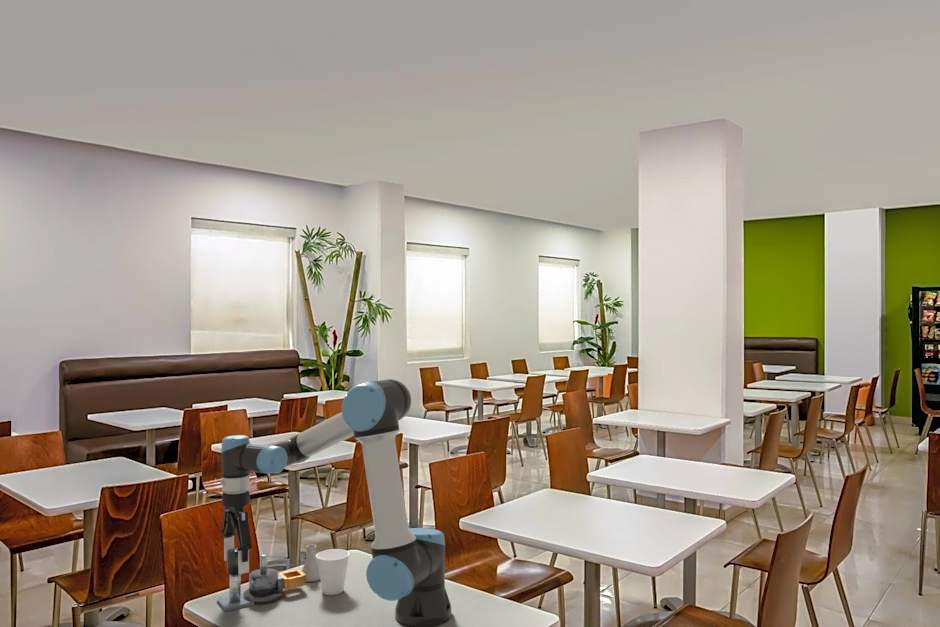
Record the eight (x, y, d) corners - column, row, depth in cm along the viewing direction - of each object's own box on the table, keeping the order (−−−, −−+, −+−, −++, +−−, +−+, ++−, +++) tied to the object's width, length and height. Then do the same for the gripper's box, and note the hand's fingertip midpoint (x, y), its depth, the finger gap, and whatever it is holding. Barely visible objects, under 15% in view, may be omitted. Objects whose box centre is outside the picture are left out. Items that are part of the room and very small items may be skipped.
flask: (294, 581, 216) (294, 548, 216) (306, 573, 223) (306, 541, 223) (315, 583, 214) (315, 550, 214) (327, 575, 221) (327, 543, 221)
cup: (353, 586, 212) (353, 549, 212) (344, 598, 202) (344, 560, 202) (321, 584, 213) (321, 548, 213) (311, 597, 203) (311, 559, 203)
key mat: (254, 604, 198) (254, 601, 198) (225, 611, 194) (225, 608, 194) (245, 595, 205) (245, 592, 205) (217, 601, 200) (217, 599, 200)
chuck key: (235, 596, 202) (236, 547, 203) (246, 599, 200) (247, 549, 200) (223, 601, 198) (223, 551, 199) (234, 604, 196) (234, 553, 197)
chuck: (253, 598, 198) (253, 561, 198) (245, 589, 205) (245, 554, 205) (307, 586, 207) (307, 551, 207) (297, 578, 214) (297, 544, 214)
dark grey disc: (288, 598, 203) (288, 593, 203) (250, 607, 196) (250, 602, 196) (275, 586, 212) (275, 581, 212) (238, 595, 205) (238, 589, 205)
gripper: (210, 484, 208) (210, 557, 207) (235, 501, 187) (236, 582, 187) (235, 481, 212) (236, 552, 212) (263, 497, 192) (264, 575, 191)
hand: (236, 566), depth 199 cm, fingers open, 13 cm apart
